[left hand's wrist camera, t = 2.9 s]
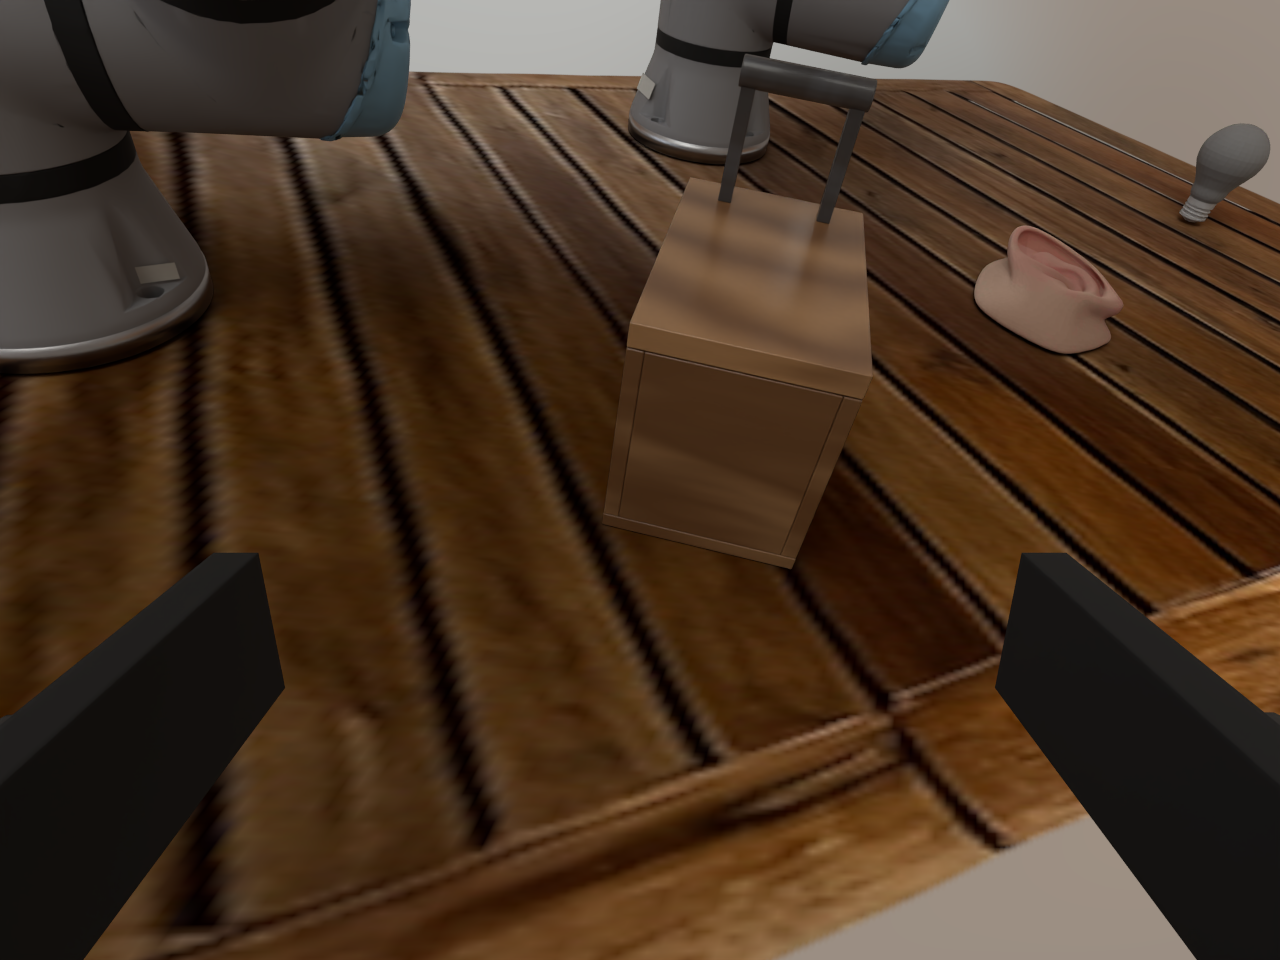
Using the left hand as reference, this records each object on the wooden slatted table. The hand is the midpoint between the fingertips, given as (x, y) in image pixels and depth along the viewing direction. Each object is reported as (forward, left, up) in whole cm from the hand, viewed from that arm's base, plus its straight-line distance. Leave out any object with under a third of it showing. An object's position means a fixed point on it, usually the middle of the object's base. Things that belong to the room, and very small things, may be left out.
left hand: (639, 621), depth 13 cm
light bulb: (-35, +88, -17) cm, 97 cm away
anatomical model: (-25, +52, -17) cm, 61 cm away
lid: (-19, +17, -6) cm, 26 cm away
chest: (-19, +17, -17) cm, 30 cm away
